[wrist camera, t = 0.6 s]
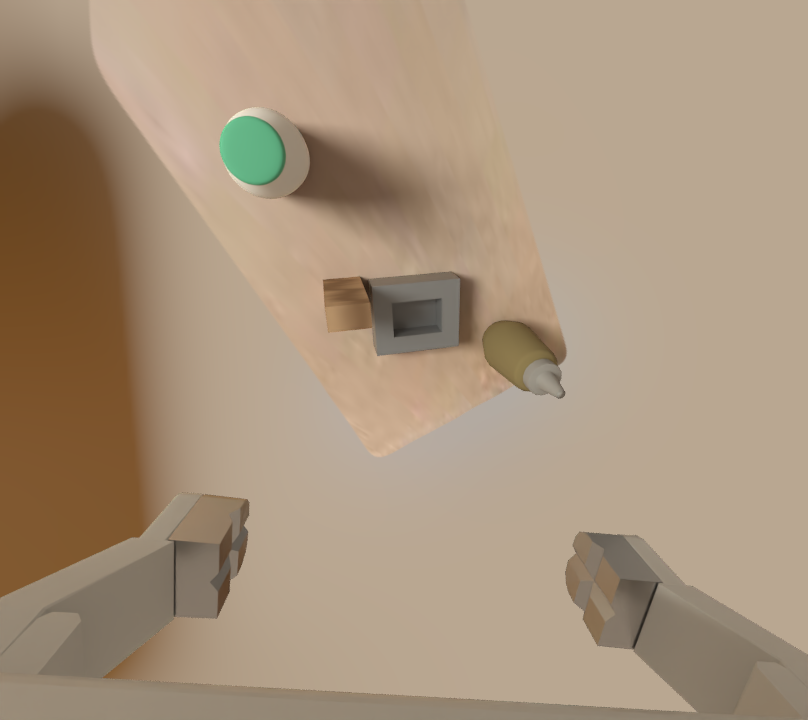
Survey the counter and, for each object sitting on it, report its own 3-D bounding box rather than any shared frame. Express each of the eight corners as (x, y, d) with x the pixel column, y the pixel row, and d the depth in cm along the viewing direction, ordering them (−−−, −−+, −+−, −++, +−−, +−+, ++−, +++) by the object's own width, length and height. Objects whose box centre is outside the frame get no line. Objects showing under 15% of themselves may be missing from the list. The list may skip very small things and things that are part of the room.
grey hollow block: (373, 344, 59) (377, 355, 56) (368, 279, 55) (371, 286, 51) (450, 335, 61) (458, 345, 58) (451, 271, 57) (460, 278, 53)
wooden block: (326, 301, 55) (328, 332, 44) (323, 279, 54) (324, 307, 43) (361, 297, 56) (372, 327, 45) (359, 276, 54) (370, 302, 44)
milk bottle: (323, 163, 48) (328, 160, 30) (278, 207, 49) (256, 229, 31) (274, 103, 44) (246, 60, 27) (226, 152, 45) (169, 142, 28)
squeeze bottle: (532, 335, 64) (603, 390, 48) (495, 369, 66) (552, 433, 50) (503, 303, 61) (570, 351, 45) (465, 339, 62) (516, 399, 46)
